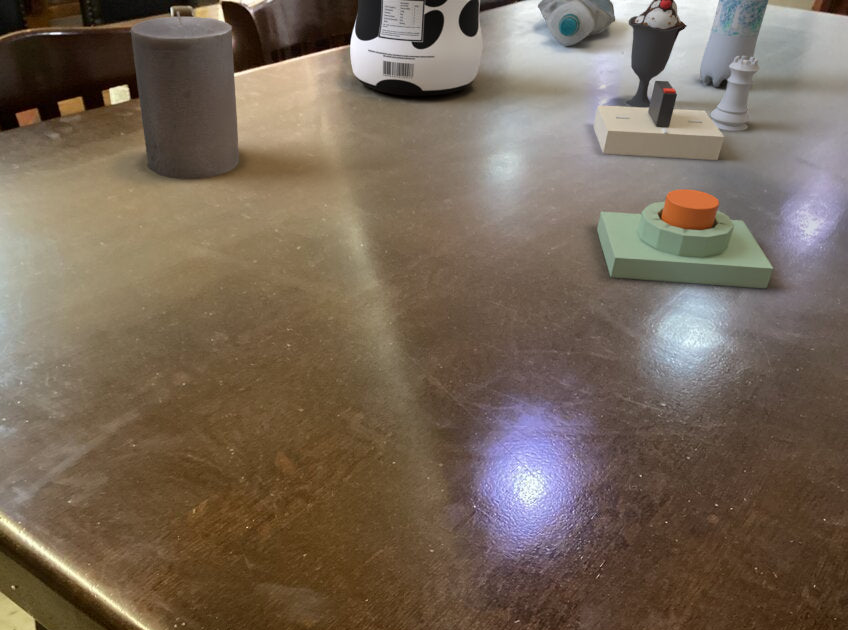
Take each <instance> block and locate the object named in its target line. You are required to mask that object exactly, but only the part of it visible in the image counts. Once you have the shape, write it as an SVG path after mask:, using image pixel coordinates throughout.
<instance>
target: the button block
mask: <svg viewBox="0 0 848 630" xmlns="http://www.w3.org/2000/svg"><path fill="white" fill-rule="evenodd" d="M664 204H665V200H664V201H659V202H654V203H650V204H648V205H647V206H646V207H645V208H644V209H643V210H642V211H641V213H630V212H629V213H628V212H617V211H615V212H614V211H600V215H599V219H598V224H597V228H596V232H597V234H598V238H599V242H600V245H601V249H602V252H603V256H604V259H605V263H606V266H607V269H608V274H609V276H610V278H619V279H630V280H631V279H632V280H645V281H657V282H659V281H660V282H671V283H672V282H673V283H687V284H701V285H713V286H714V285H716V286H727V287H728V286H729V287H740V288H742V287H743V288H756V289H768V285H769V282H770V281H771V278H772V274H773V271H774V267H773V265H772V263H771V262H770V261H769V259H768V257H767V256H766V254H765V253H764V251H763V250H762V248H761V246H760V245H759V243H758V242H757V240H756V238H755V237H754V235H753V234H752V233H751V231H750V229H749V228H748V226H747V225H746V223H745V222H744V220H739V219H731V217H730V216H729V215H727V214H725V213H724V212H722V211H720V210H719V209H718V210H717V213H716V216H715V220H714V223H713V226H712V228H711V229H706V230H689V229H683V228H679V227H675V226H671V225H669V224H667V223H665V222H664V221H662V220H661V216H662V212H663V208H664Z"/></svg>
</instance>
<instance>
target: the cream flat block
mask: <svg viewBox="0 0 848 630" xmlns="http://www.w3.org/2000/svg"><path fill="white" fill-rule="evenodd" d="M648 110H649V107H647V108H642V107H634V106H622V105H621V106H620V105H602V104H601V105H599V104H597V106H596V112H595V115H594V116H595V117H594V120H593V121H594V122H593V130H594V133H595V136H596V139H597V141H598V144H599V146H600V147H599V148H600V149H601V152H602V154H603V155H621V156H638V157H654V158H670V159H671V158H672V159H687V160H688V159H690V160H692V159H693V160H709V161H718V160H719V157H720V153H721V150H722V146H723V143H724V140H725V135H724V134H723V133H722V132H721V129H718V127H717V126H716V125H715V123H714V122H713V121H712V117H711V116H709V114H708V113H707V111H706V110H700V109H699V110H697V109H680V108H674V109H673V113H672V117H671V121H670V125H669V127H658V126H655V124H654V122H653V120H652V118H651V117H650V115H649V113H648Z"/></svg>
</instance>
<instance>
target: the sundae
mask: <svg viewBox="0 0 848 630" xmlns="http://www.w3.org/2000/svg"><path fill="white" fill-rule="evenodd" d="M628 25H629V26H630V27H631V28H632V44H631V45H632V46H631V57H630V59H631V60H630V61H631V63H630V67H631V69H632V71H633V73H634V74H635V75H636V76H637V78H638V80H639V81H638V82H639V83H638V86H637V91H636V93H635V95H634V96H633V97H632V98H631V99H627V100H626V101H625V102H624V103H625V104H626V105H628V106H629V107H642V108H649V106H650V101H651V100H650V99H649V96H648V93H649V91H648V90H649V86H650V81H651V80H652V79H653V78H656V77H657V76H658V75H660V74H661V73H662V72H663V71H664V70H665V69H666V66H667V64H668V62H669V60H670V57H671V55H672V51H673V48H674V45H675V43H676V41H677V39H678V36H679V34H680V32H681V31H684V30H685V29H686V28H687V27H688V25H687V24H686V23H684V22H683V21H682V20H681V19H680V17H679V15H678V6H677V3H676V1H675V0H652V1H650V3H649V4H648V6H647V8H646V9H645V11H643V12H641V14H639V15H636V16H631V17H630V18H629V20H628Z"/></svg>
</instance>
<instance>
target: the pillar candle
mask: <svg viewBox="0 0 848 630" xmlns="http://www.w3.org/2000/svg"><path fill="white" fill-rule="evenodd" d="M232 30H233V26H232V25H231V24H229V23H228V22H226V21H223V20H219V19H216V18H212V17H201V16H181V14H180V11H178V10H177V11H176V16H164V17H156V18H151V19H146V20H142V21H140V22H136V23H134V25H132V26H131V28H130V36H131V42H132V43H131V45H132V51H133V61H134V69H135V73H136V74H135V75H136V85H137V92H138V97H139V98H138V100H139V105H140V112H141V122H142V123H141V124H142V129H143V135H144V145H145V151H146V158H147V159H146V160H147V164H146V167H147V168H148V169H149V170H151V171H152V172H153V173H155V174H156V175H159V176H162V177H165V178H170V179H180V180H194V179H195V180H196V179H205V178H211V177H216V176H221V175H223V174H226V173H229V172H231V171H232V170H234V169H235V168H236V167H237V166H238V165H239V163H240V153H239V132H238V115H237V97H236V83H235V82H236V81H235V66H234V63H235V61H234V49H233V31H232Z"/></svg>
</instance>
